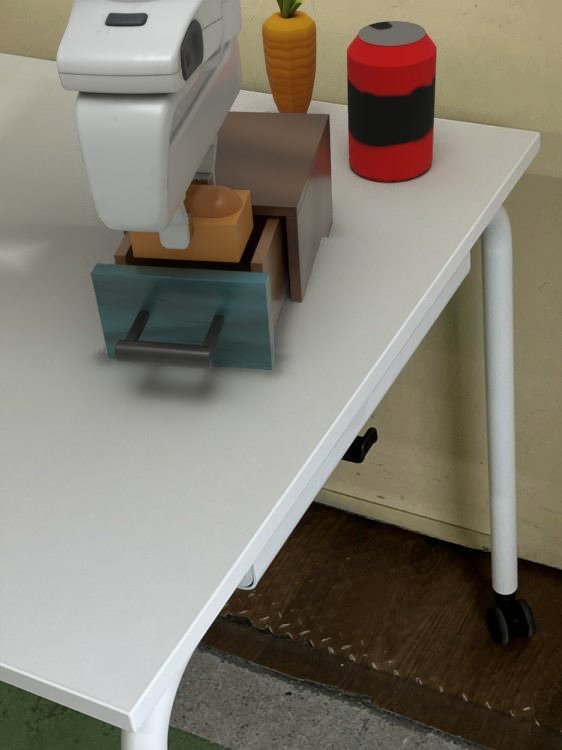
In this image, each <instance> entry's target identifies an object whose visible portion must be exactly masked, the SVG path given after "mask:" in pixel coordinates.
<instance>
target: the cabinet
mask: <svg viewBox="0 0 562 750" xmlns="http://www.w3.org/2000/svg"><path fill="white" fill-rule="evenodd" d="M330 117H331V115H330V113H308V112H307V113H279V112H267V111H262V112H261V111H234V110H233V111H232V110H230V111H229V112H228V114H227V116H226V118H225V120H224V122H223V124H222V126H221V127H220V129H219V131H218V133H217V136H218V140H217V150H216V160H215V168H214V171H215V180H216V186H225V187H228V188H230V189H232V190H250V195H251V206H252V215H268V216H286V228H287V244H288V260H289V276H290V285H289V292H290V302H291V303H303V301H304V298H305V294H306V290H307V287H308V284H309V281H310V277H311V274H312V272H313V268H314V264H315V261H316V258H317V254H318V251H319V247H320V244H321V241H322V238H329V235H330V233H331V228H332V224H333V222H334V220H333V219H334V217H333V183H332V181H333V180H332V152H331V151H332V148H331V147H332V146H331V118H330ZM127 232H128V231H123V236H124V237H125V235H126V233H127Z"/></svg>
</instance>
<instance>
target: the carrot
mask: <svg viewBox="0 0 562 750" xmlns="http://www.w3.org/2000/svg"><path fill="white" fill-rule="evenodd" d="M303 2H304V0H276V3H277V6H278V8H279V11H275V12H274V13H273V14H271V15H270V16H269V17H267V18H266V19H265V21H264V22H262V27H261V35H262V36H261V37H262V47H263V56H264V64H265V71H266V75H267V79H268V84H269V88H270V91H271V95H272V98H273V102H274V104H275V107H276V108H277V111H278V113H308V111H309V108H310V105H311V102H312V97H313V92H314V87H315V82H316V81H315V80H316V73H317V25H316V21H315V20H314V19H313V18H312V17H310V15H308V14H307V13H306V12H305V11H302V10H298V9H299V8H300V7H301V5H302V4H303Z"/></svg>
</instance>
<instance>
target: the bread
mask: <svg viewBox="0 0 562 750" xmlns="http://www.w3.org/2000/svg"><path fill="white" fill-rule="evenodd" d="M183 203H184V206H185V209H186V212H187V213H192V219H193V228H194V234H193V236H192V239H191V241H190V243H189V245H188V247H187V248H186V249H167V248H165V247H164V246H163V245H162V244H161V241H160V235H159V232H133V231H129V232H130V238H131V243H132V249H133V254H134V257H139V258H158V259H178V260H197V261H216V262H236V263H238V262H239V261H240V259H241V256H242V254H243V251H244V249H245V246H246V244H247V242H248V239H249V237H250V234H251V232H252V229H253V217H252V206H251V195H250V190H232V189H230V188H228V187H225V186H214V185H189V187H188V189H187V191H186V198H185V200H184V201H183Z"/></svg>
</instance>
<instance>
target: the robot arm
mask: <svg viewBox="0 0 562 750" xmlns="http://www.w3.org/2000/svg"><path fill="white" fill-rule="evenodd" d="M241 5H242V4H241V0H72V6H71V11H70V15H69V18H68V22H67V25H66V28H65V31H64V33H63V36H62V38H61V41H60V43H59V46H58V49H57V52H56V61H55V62H56V68H57V73H58V74H57V75H58V78H59V82H60V85H61V87H62V88H63V89H64V90H65V91H70V92H78V93H77V95H76V99H75V107H74V108H75V109H74V115H75V127H76V133H77V139H78V145H79V149H80V154H81V158H82V163H83V167H84V171H85V176H86V179H87V182H88V183H87V184H88V188H89V191H90V195H91V199H92V202H93V205H94V208H95V211H96V213H97V216H98V217H99V219H100V220H101V221H102V222H103V223H104V224H105V225H106V227H108V228H109V229H111V230H113V231H121V232H124V231H133V232H159V235H160V241H161V244H162V245H163V246H164V247H165V248H167V249H186V248H187V247H188V245H189V243H190V241H191V239H192V236H193V234H194V228H193V219H192V213H187V212H186V209H185V206H184V203H183V201H184V200H185V198H186V191H187V189H188V187H189V185H214V186H216V180H215V171H214V168H215V160H216V150H217V140H218V136H217V133H218V131H219V129H220V127H221V126H222V124H223V122H224V120H225V118H226V116H227V114H228V112H229V111H231V108H232V107H233V105H234V103H235V101H236V99H237V98H238V96H239V94H240V92H241V88H242V87H241V86H242V77H243V76H242V59H241V51H240V44H239V43H240V42H239V36H238V35H239V34H240V32H241V30H242V27H243V17H242V6H241Z"/></svg>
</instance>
